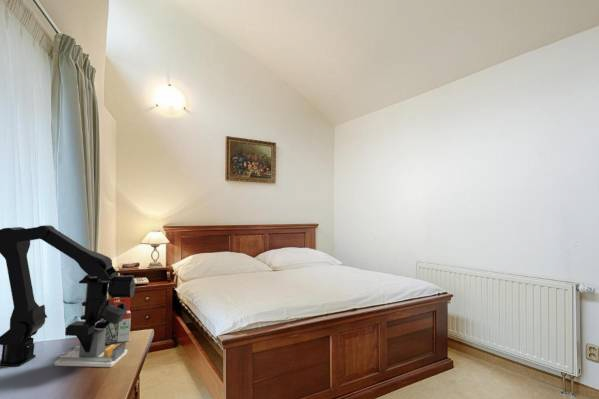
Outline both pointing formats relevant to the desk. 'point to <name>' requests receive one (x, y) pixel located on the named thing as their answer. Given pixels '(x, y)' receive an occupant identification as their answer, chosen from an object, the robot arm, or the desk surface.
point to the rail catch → (109, 350)
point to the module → (95, 344)
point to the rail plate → (92, 358)
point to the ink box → (119, 325)
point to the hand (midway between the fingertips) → (92, 348)
